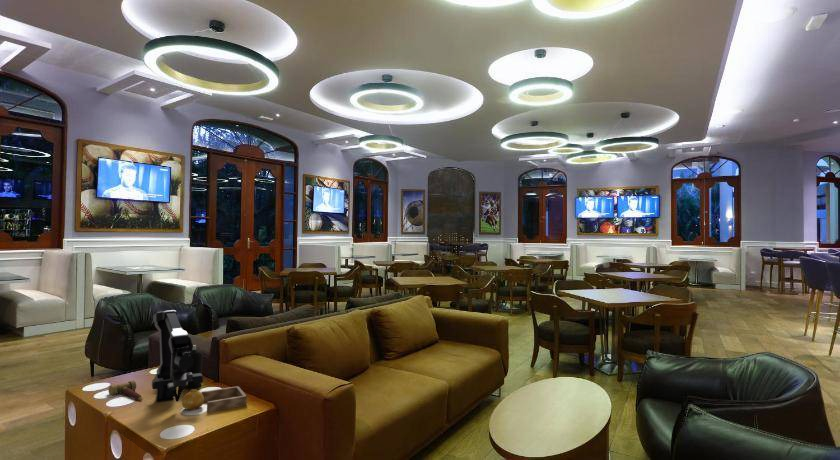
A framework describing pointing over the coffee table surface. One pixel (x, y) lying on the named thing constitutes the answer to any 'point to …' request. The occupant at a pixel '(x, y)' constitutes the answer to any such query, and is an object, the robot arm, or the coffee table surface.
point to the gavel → (125, 390)
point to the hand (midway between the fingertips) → (177, 401)
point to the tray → (224, 403)
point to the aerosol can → (195, 367)
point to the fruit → (193, 400)
